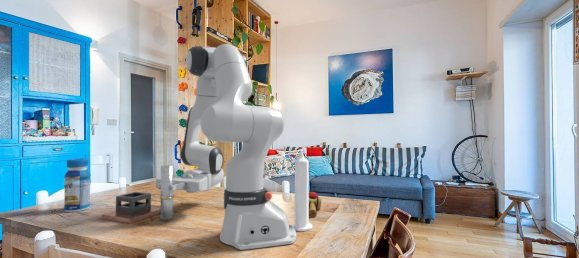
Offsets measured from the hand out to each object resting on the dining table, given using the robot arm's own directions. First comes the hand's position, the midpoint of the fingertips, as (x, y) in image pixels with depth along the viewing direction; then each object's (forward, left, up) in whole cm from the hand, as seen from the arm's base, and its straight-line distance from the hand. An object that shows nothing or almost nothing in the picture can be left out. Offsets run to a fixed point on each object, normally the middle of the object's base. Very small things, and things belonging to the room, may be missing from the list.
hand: (165, 187), depth 93 cm
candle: (-46, +10, -12) cm, 49 cm away
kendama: (-54, -9, -12) cm, 55 cm away
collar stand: (+14, -8, -12) cm, 20 cm away
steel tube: (-1, -1, -11) cm, 11 cm away
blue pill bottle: (+40, -18, -12) cm, 45 cm away
